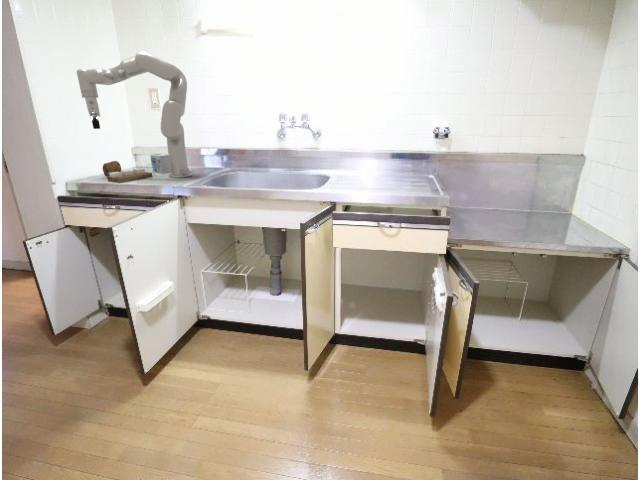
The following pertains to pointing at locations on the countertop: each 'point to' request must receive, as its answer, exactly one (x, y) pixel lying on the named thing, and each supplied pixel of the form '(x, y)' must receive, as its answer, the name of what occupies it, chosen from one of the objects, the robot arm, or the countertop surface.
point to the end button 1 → (115, 174)
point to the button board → (130, 177)
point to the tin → (111, 168)
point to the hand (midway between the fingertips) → (96, 128)
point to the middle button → (127, 172)
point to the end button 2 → (138, 170)
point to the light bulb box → (160, 163)
